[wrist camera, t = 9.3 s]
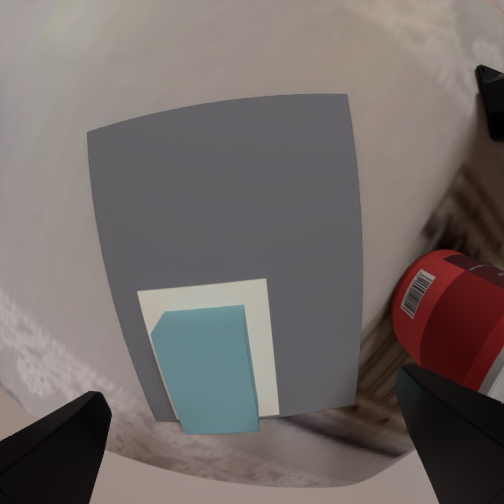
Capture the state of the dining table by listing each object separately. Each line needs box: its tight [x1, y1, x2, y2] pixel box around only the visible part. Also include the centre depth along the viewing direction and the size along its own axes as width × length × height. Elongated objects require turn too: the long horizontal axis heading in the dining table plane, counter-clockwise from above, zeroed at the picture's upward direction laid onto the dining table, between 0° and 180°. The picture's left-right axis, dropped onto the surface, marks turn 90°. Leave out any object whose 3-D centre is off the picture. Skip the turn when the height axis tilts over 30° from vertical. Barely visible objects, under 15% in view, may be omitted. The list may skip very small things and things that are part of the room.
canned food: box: [391, 249, 504, 404], centre depth 13 cm, size 8×8×11 cm
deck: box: [150, 304, 260, 434], centre depth 17 cm, size 8×5×3 cm, turn 7°
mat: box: [87, 94, 363, 422], centre depth 17 cm, size 16×22×1 cm
